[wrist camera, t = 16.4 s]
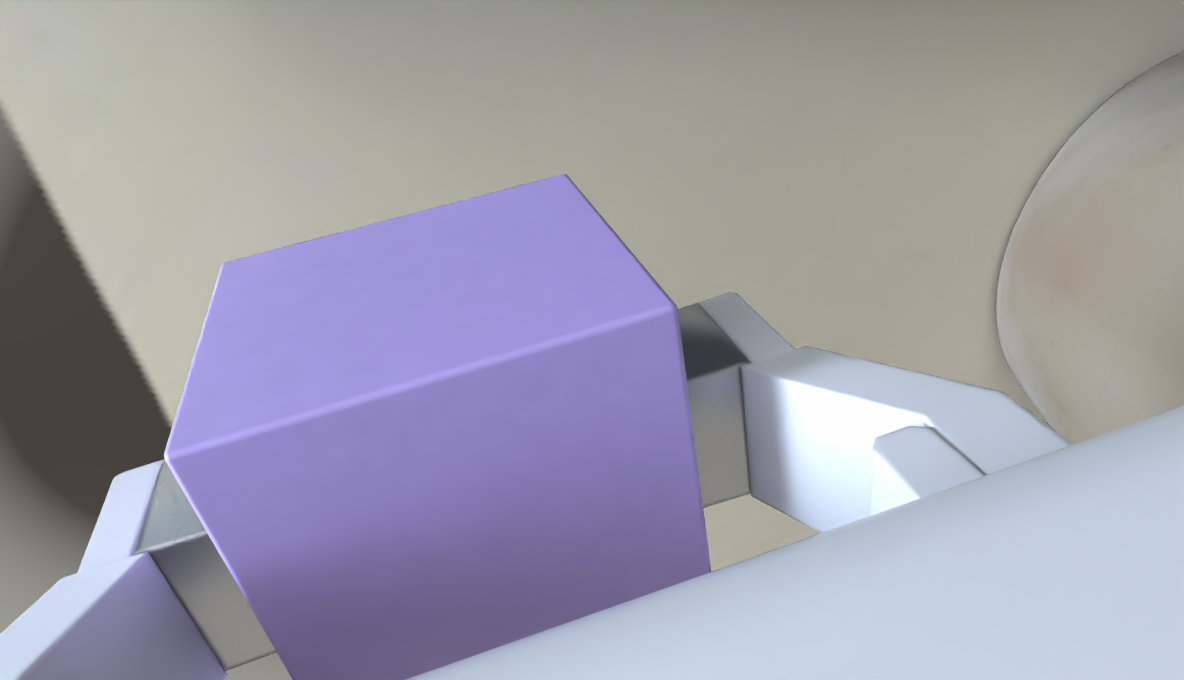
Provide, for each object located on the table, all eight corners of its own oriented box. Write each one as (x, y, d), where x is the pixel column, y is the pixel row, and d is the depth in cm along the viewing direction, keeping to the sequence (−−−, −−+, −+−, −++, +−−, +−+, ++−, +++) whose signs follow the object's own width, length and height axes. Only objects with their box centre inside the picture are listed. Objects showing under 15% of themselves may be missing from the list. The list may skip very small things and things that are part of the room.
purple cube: (339, 523, 12) (342, 770, 9) (219, 261, 10) (158, 456, 6) (617, 435, 13) (720, 632, 9) (566, 171, 10) (679, 304, 7)
